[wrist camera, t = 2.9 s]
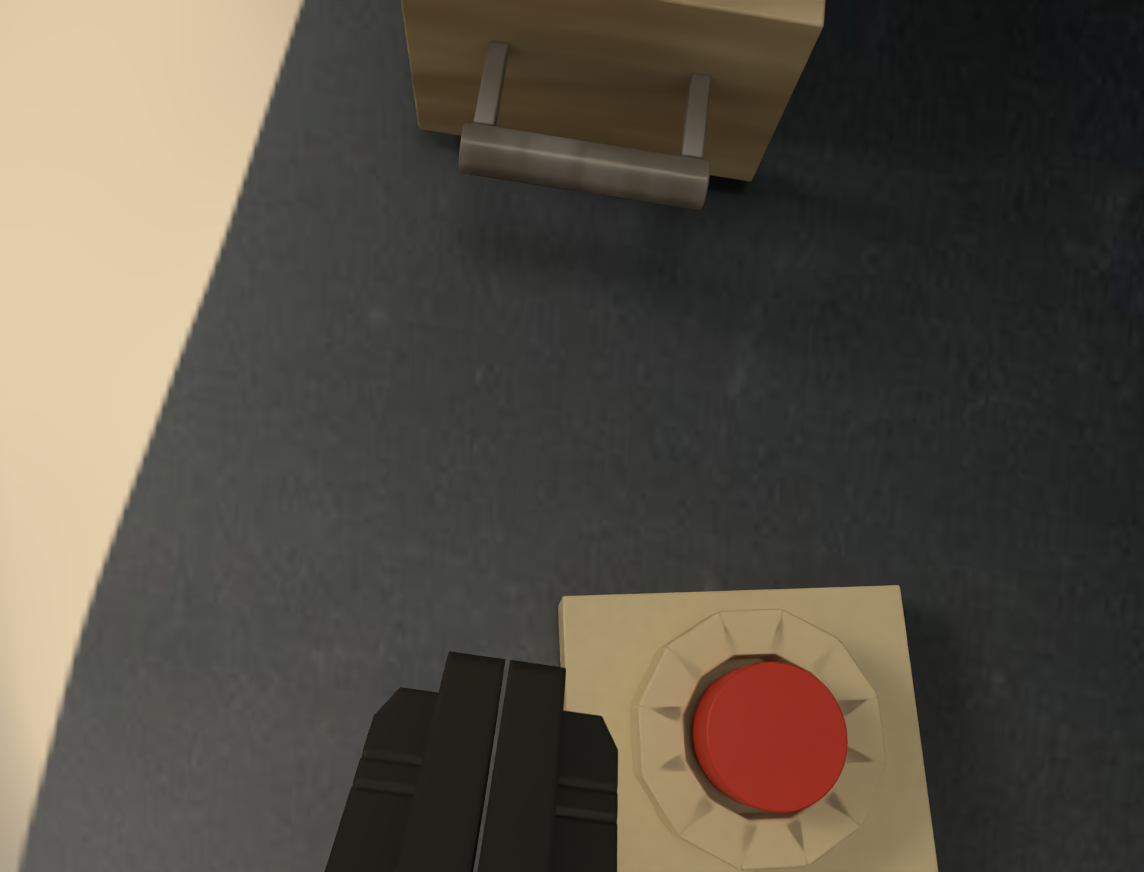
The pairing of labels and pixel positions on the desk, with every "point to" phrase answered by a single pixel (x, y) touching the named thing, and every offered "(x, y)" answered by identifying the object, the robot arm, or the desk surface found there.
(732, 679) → the red button
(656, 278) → the desk surface
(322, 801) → the desk surface
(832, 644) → the button box
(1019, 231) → the desk surface
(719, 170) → the drawer
